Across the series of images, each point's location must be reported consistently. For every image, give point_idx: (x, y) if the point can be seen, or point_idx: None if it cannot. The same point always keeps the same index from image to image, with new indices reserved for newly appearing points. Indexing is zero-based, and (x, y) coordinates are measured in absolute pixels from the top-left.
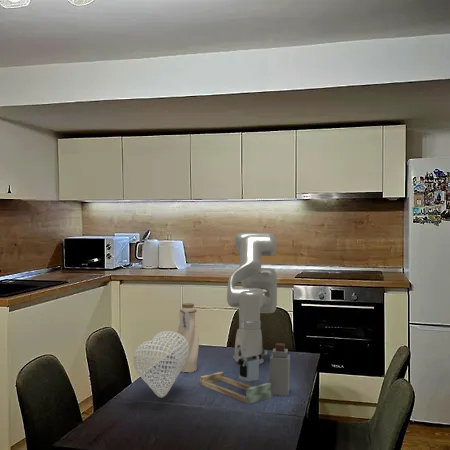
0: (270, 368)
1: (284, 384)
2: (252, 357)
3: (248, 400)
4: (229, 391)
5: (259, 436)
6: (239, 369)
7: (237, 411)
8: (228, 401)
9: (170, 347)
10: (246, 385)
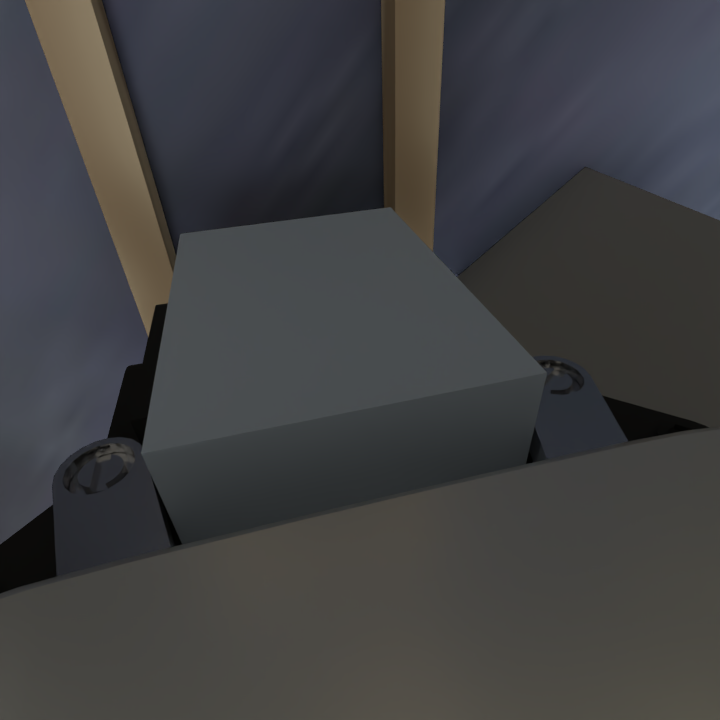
0: None
1: None
2: (534, 459)
3: None
4: (76, 88)
5: None
6: (170, 301)
7: (5, 459)
8: (2, 245)
9: None
10: (414, 11)
